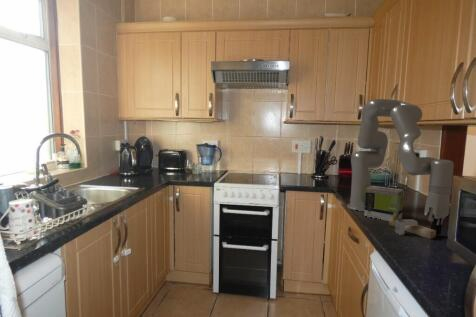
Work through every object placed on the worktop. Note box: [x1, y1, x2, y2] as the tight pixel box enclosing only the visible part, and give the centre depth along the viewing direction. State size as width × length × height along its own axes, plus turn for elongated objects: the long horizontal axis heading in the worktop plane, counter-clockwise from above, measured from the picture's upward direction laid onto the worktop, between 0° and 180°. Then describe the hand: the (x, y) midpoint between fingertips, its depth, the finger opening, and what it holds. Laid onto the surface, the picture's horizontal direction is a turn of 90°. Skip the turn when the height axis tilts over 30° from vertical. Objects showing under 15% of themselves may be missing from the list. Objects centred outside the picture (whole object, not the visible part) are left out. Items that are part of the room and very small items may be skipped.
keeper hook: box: [394, 218, 419, 236], centre depth 121 cm, size 3×8×6 cm, turn 93°
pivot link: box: [388, 213, 437, 240], centre depth 124 cm, size 18×5×6 cm, turn 28°
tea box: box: [363, 185, 405, 222], centre depth 142 cm, size 15×10×15 cm, turn 48°
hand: (435, 233), depth 119 cm, fingers closed
